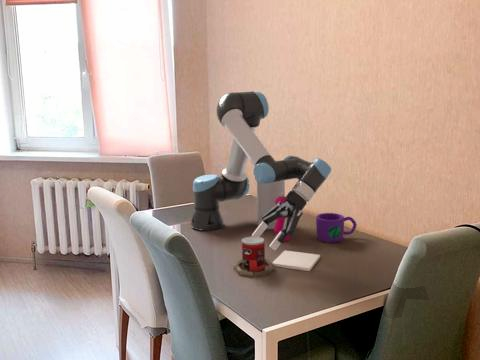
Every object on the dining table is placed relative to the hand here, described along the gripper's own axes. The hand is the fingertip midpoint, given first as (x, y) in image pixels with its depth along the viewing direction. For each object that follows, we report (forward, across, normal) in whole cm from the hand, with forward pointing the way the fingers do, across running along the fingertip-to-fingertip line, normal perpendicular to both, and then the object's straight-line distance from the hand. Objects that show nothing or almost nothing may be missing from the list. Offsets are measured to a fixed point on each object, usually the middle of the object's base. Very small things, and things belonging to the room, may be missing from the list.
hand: (262, 242), depth 166 cm
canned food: (+9, 0, +4) cm, 10 cm away
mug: (-22, -13, +36) cm, 44 cm away
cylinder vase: (-12, -42, +25) cm, 50 cm away
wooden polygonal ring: (+9, 0, +4) cm, 10 cm away
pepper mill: (-8, -24, +22) cm, 33 cm away
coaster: (-3, +1, +16) cm, 16 cm away
